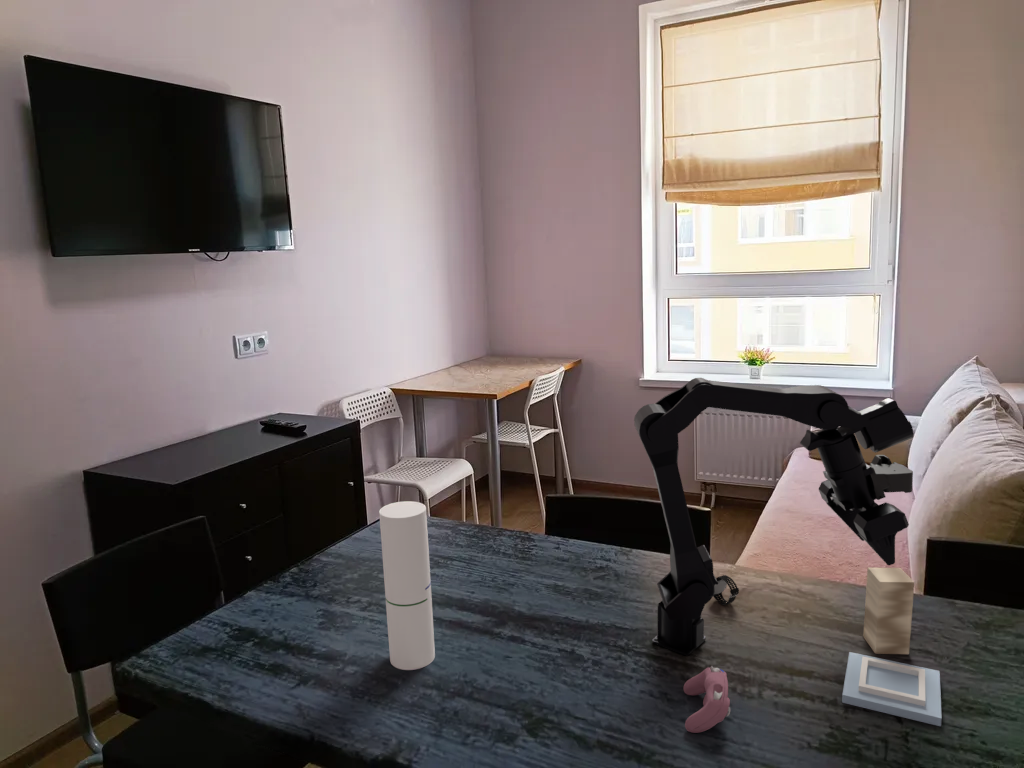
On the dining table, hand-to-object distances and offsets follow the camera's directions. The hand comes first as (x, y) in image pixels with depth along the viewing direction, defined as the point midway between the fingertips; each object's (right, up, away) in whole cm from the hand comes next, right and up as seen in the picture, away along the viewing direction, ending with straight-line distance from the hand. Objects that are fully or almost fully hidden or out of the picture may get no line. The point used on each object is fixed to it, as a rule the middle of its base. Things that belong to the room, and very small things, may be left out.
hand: (877, 551), depth 116 cm
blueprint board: (-3, -18, -10) cm, 20 cm away
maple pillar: (+2, -15, +1) cm, 15 cm away
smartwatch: (-20, -13, +16) cm, 29 cm away
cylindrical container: (-73, -18, +3) cm, 75 cm away
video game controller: (-31, -20, -14) cm, 39 cm away
